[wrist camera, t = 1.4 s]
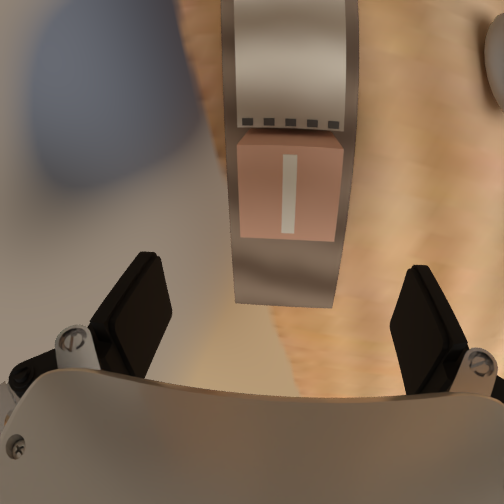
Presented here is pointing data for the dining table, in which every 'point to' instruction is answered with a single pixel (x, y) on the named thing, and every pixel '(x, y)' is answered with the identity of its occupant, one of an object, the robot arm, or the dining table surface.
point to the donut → (495, 58)
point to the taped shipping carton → (289, 184)
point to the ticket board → (289, 117)
